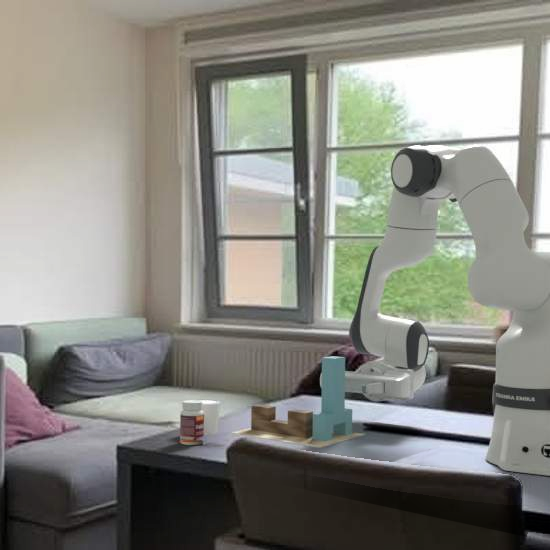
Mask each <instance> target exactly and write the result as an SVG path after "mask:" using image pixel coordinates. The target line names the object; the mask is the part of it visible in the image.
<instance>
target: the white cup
mask: <svg viewBox="0 0 550 550" xmlns="http://www.w3.org/2000/svg"><path fill="white" fill-rule="evenodd" d="M197 400H198V401H202V409H201V410H202V411H203V412H204V436H203V437H206V436H210V435H215V434H218V433H219V431H218V430H219V429H218V428H219V421H220V410H221V401H219V400H216V399H197Z"/></svg>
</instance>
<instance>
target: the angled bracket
mask: <svg viewBox="0 0 550 550" xmlns="http://www.w3.org/2000/svg"><path fill="white" fill-rule="evenodd" d="M345 371H346V357H345V356H336V355H335V356H334V355H332V356H325V357H324V356H323V357H321V373H322V388H321V411H319V412H315V413H313V439H314V440H321V441H328V440H331V439H332V429H333V434H339V435H349V434H352V432H353V409H352V408H346V407H345V406H346V405H345V403H346V402H345V397H346V394H345V393H346V391H345Z"/></svg>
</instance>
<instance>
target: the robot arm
mask: <svg viewBox="0 0 550 550" xmlns="http://www.w3.org/2000/svg"><path fill="white" fill-rule="evenodd" d="M390 166H391V168H390V176H391V181H392V184H393V186H394V187H393V189H392V192H391V197H390V201H389V205H388V211H387V216H386V217H387V219H386V228H385V233H384V236H383V239H382V241H380V243H379V245H377V246H375V247H374V248H373V249H372V251H371V253H370V256H369V258H368V261H367V265H366V269H365V273H364V275H363V276H364V277H363V280H362V281H363V282H362V283H361V285H362V286H361V289H360V294H359V297H358V303H357V306H356V310H355V313H354V316H353V318H352V321H351V323H350V326H349V331H348V337H349V341H350V342H351V343H350V344H351V345H352V346H353V348H354V349H355V350H356V352H357V353H358V354H363V355H370V356H378V357H382V358H383V359H380V360H379V359H378V360H373V361H369V362H367V363H366V364H364V365H363V366H362V368H361V369H360V371H348V370H345V393H355V394H356V393H357V394H362V395H363V396H364V397H365V398H367V399H368V400H370V401H372V402H382V401H389V400H390V401H391V400H412V399H414V394H415V392H416V391H418V389H419V388H421V387H422V385H424V382H425V380H426V377H427V376H426V375H427V369H426V367H425V363H426V361H427V358H428V355H429V349H430V338H429V335H428V333H427V331H426V329H425V327H424V325H423V324H422V323H421V322H419V321H416V320H411V319H407V318H402V317H395V316H391V315H385V314H383V313H381V310H380V308H381V303H382V299H383V295H384V292H385V287H386V282H387V279H388V277H389V276H390V275H391V274H392V273H394V272H396V271H398V270H402V269H407V268H410V267H413V266H416V265H419V264H421V263H423V262H424V261H426V260H427V259H428V258H430V255H432V253H433V252H434V251H433V250H434V248H435V245H436V238H437V229H438V227H437V226H438V212H439V208H440V205H441V204H442V203H443V202H445V201H447V200H449V201H450V202H451V203H456V202H457V204H458V206H459V209H460V210H461V213H462V215H463V218H464V219H465V222H466V224H467V227H468V229H469V230H470V233H471V237H472V238H473V242H474V243H473V244H474V249H475V257H474V258H475V259H474V260H473V262H472V263H471V265H470V267H469V270H468V274H467V287H468V290H469V293H470V296H471V297H472V298H473V301H475V302H476V303H477V304H479V305H481V306H484V307H487V308H490V309H495V310H498V311H503V312H504V311H506V312H507V311H512V312H513V311H514V312H513V316H512V319H511V323H510V324H509V327H508V328H507V330H506V331H505V332H504V333H503V334H502V335H501V336H500V337H499V338H498V340H497V342H496V345H495V382H494V383H493V385H492V399H491V402H492V403H491V404H492V413H493V423H492V430H491V435H490V439H489V440H490V441H489V444H488V447H487V448H488V449H487V451H486V454H485V460H486V461H488V463H491V464H494V465H496V466H498V467H499V468H500V469H501V470H503V471H506V472H508V471H509V472H515V473H524V474H531V475H539V476H549V477H550V251H533V250H532V249H530V247H528V245H527V242H526V239H525V235H524V231H526V229H527V227H528V226H529V222H530V221H529V220H530V215H529V212H528V210H527V208H526V206H525V204H524V203H523V200H522V198H521V197H520V194H519V192H518V190H517V188H516V187H515V185H514V182H513V181H512V179H511V177H510V175H509V174H508V173H509V172H508V171H507V170H506V169H505V167H504V166H503V164H502V163H501V162H500V160H499V158H498V157H497V156H496V155H495V153H493V152H492V150H491V149H489V148H488V147H486V146H484V145H481V144H480V145H479V144H473V145H472V144H471V145H469V146H466V147H463V148H459V147H453V146H452V147H451V146H445V145H425V146H424V145H423V146H422V145H412V146H407V147H404V148H402V149H400V150H398V152H397V153H396V155H395V156H394V158H393V161H392V163H391V165H390ZM319 386H320V388H321V389H322V372H320V377H319Z"/></svg>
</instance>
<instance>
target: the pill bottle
mask: <svg viewBox="0 0 550 550" xmlns="http://www.w3.org/2000/svg"><path fill="white" fill-rule="evenodd" d="M198 400H199V399H188V400H187V399H186V400H183V401H182V404H181V405H182V410H181V411H180V414H179V417H180V419H179V420H180V421H179V428H180V431H179V441H180V444H182V445H187V446H198V445H202V444H204V440H202V439H197V438H203V437H205V436H204V412H203V411H202V410H201V409H202V401H198Z"/></svg>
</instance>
